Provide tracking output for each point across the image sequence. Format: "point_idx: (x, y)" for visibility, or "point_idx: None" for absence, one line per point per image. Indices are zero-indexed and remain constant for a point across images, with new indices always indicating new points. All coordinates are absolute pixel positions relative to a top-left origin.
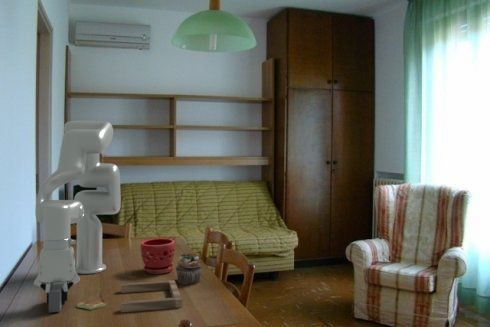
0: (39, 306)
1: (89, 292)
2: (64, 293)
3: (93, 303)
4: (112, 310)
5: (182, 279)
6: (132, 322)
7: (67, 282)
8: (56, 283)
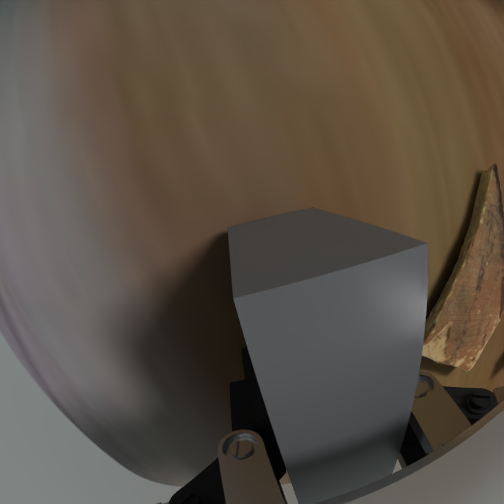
0: (173, 360)
1: (417, 70)
2: None
3: (476, 346)
4: (498, 347)
5: None
6: None
7: (452, 426)
8: (329, 443)
